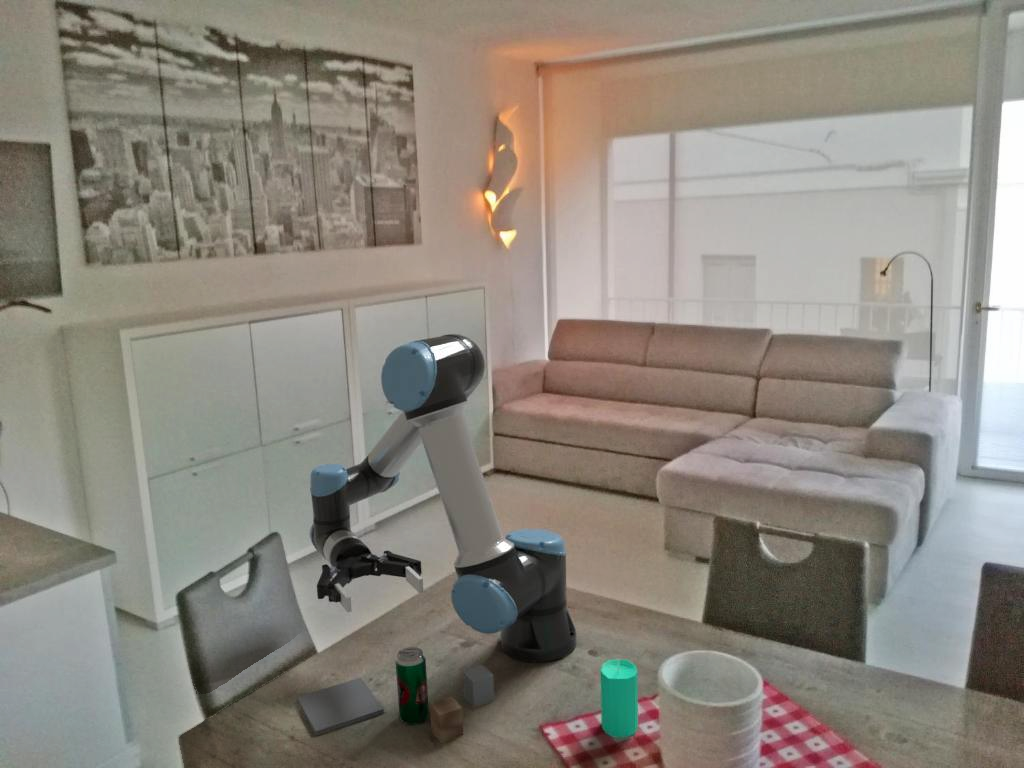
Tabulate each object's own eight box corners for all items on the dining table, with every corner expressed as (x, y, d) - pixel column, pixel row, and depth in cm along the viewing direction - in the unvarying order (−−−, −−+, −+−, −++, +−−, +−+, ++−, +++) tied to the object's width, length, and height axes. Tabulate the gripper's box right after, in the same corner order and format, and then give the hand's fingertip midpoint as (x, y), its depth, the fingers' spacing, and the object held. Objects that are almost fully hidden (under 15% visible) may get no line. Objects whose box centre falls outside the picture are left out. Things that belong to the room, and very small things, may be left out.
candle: (614, 711, 141) (613, 647, 138) (644, 724, 137) (644, 658, 135) (594, 729, 136) (593, 662, 134) (625, 742, 132) (624, 674, 130)
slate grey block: (483, 690, 149) (482, 665, 148) (494, 700, 145) (493, 675, 144) (464, 697, 147) (462, 671, 146) (474, 707, 143) (472, 681, 142)
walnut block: (453, 722, 139) (451, 696, 138) (463, 735, 136) (461, 707, 135) (431, 730, 137) (429, 703, 136) (441, 743, 134) (439, 715, 133)
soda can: (424, 727, 138) (419, 661, 136) (395, 724, 139) (390, 659, 137) (432, 710, 143) (428, 646, 141) (405, 707, 144) (400, 644, 142)
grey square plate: (361, 681, 153) (360, 677, 153) (384, 712, 143) (383, 708, 143) (297, 701, 147) (296, 697, 147) (316, 735, 137) (315, 731, 137)
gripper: (407, 558, 171) (450, 597, 153) (286, 587, 159) (318, 633, 141) (405, 524, 170) (448, 559, 151) (283, 550, 158) (315, 592, 139)
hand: (386, 595), depth 146 cm, fingers open, 13 cm apart
